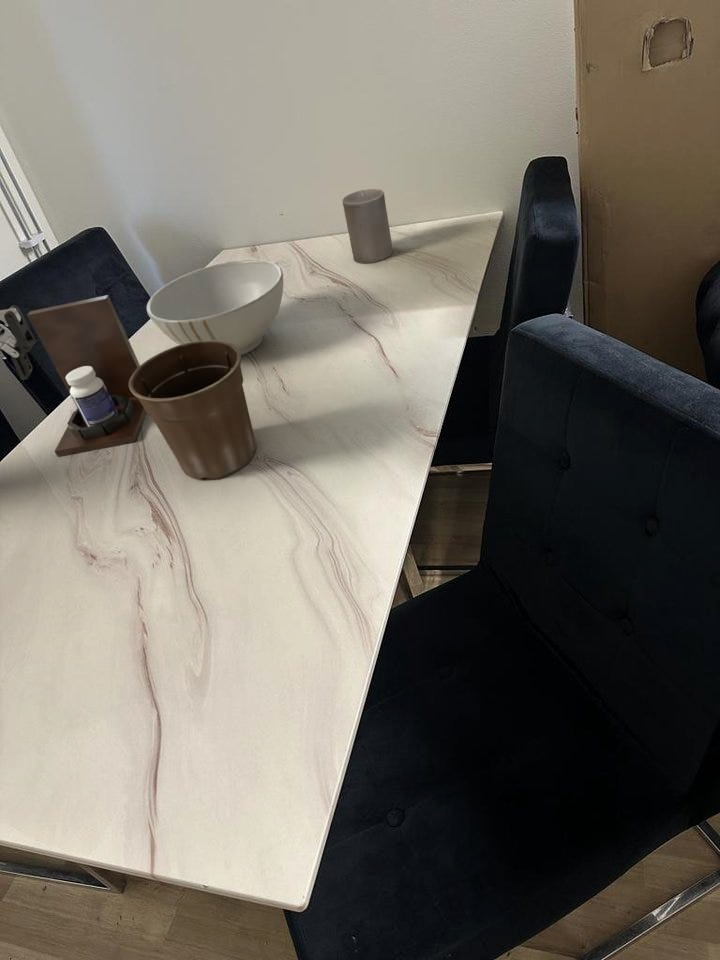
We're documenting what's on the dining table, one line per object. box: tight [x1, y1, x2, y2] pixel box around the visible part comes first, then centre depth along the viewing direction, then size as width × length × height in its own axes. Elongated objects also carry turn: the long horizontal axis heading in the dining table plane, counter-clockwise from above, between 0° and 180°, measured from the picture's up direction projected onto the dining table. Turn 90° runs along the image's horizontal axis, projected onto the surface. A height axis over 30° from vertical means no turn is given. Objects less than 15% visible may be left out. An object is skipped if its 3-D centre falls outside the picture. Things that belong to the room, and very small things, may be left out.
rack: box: [26, 294, 148, 457], centre depth 113 cm, size 14×15×20 cm
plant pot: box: [129, 340, 257, 481], centre depth 99 cm, size 16×16×16 cm
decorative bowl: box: [146, 259, 284, 356], centre depth 131 cm, size 27×27×12 cm
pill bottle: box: [66, 366, 119, 427], centre depth 114 cm, size 6×6×10 cm
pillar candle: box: [342, 188, 394, 264], centre depth 153 cm, size 10×10×15 cm
